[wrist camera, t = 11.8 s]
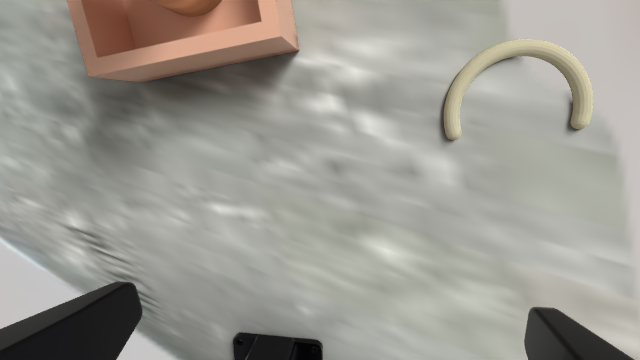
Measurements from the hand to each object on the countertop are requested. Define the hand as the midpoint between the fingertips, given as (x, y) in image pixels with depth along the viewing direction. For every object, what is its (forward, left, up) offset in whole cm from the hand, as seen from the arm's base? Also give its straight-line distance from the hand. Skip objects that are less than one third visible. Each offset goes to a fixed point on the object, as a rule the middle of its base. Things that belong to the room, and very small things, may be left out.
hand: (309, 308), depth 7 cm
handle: (+5, -9, -14) cm, 17 cm away
